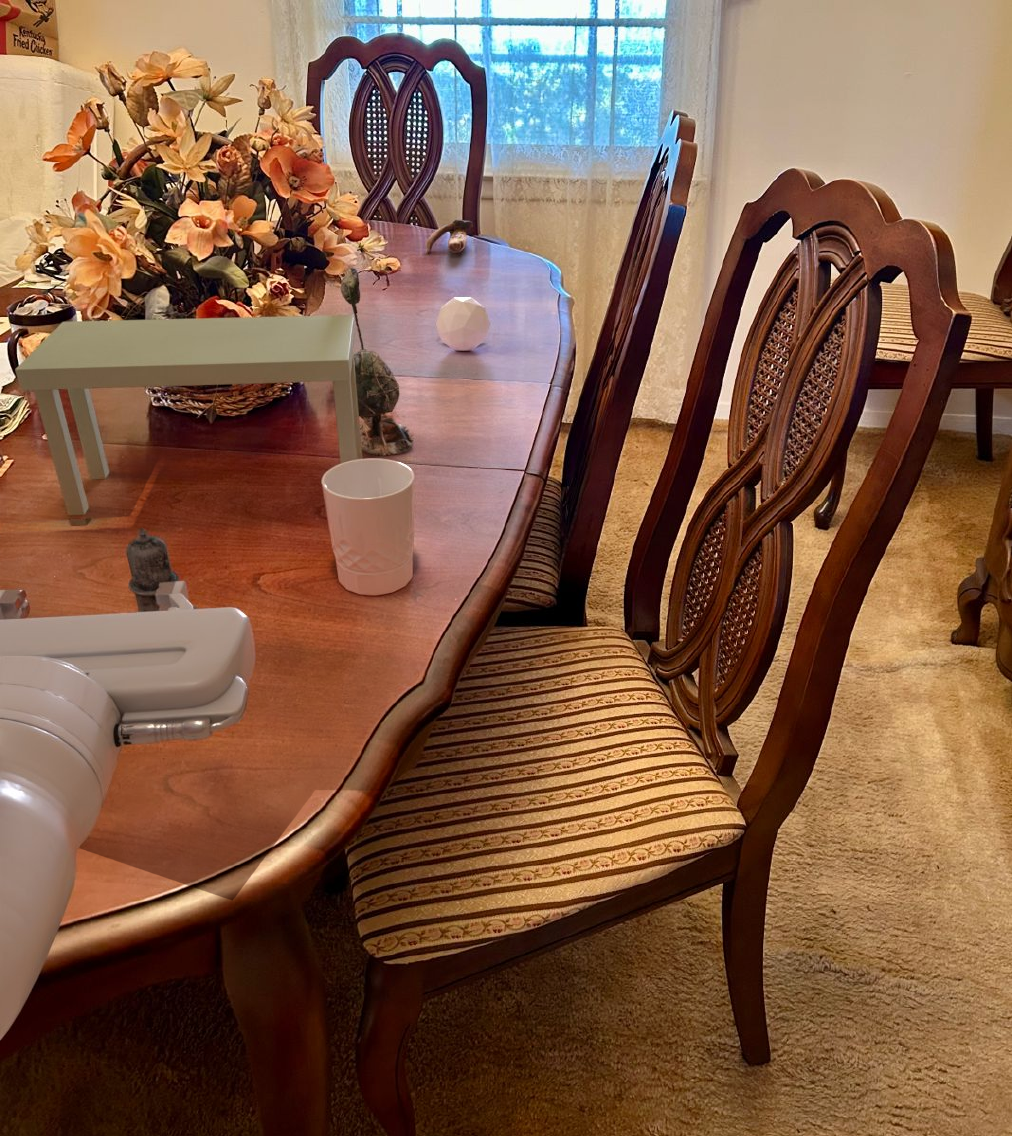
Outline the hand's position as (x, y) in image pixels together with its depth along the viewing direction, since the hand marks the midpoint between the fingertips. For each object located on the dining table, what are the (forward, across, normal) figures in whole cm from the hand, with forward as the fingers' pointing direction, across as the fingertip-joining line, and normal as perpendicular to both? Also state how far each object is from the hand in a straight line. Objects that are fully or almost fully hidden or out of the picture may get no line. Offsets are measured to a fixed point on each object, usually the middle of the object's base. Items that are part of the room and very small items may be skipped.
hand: (96, 594), depth 57 cm
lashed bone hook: (+150, -31, +12) cm, 154 cm away
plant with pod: (+52, -16, +13) cm, 56 cm away
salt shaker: (+12, 0, +14) cm, 18 cm away
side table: (+40, 0, +13) cm, 42 cm away
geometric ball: (+86, -29, +13) cm, 91 cm away
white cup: (+23, -16, +14) cm, 31 cm away
